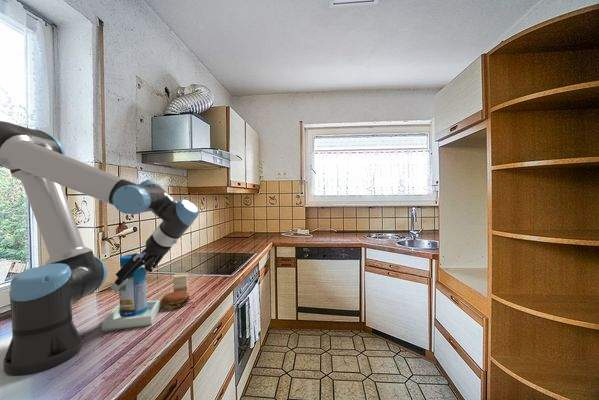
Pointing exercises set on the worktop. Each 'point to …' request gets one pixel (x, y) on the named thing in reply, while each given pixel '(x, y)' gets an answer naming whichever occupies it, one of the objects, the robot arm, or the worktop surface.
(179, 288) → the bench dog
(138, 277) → the blue supplement bottle
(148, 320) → the tray
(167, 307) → the burger
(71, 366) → the worktop surface
